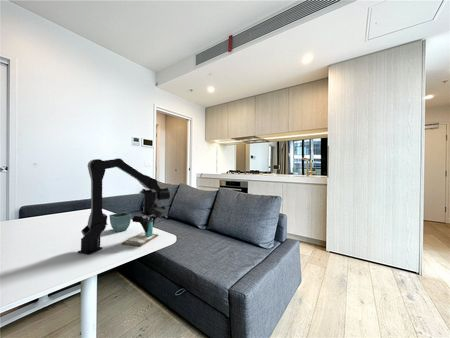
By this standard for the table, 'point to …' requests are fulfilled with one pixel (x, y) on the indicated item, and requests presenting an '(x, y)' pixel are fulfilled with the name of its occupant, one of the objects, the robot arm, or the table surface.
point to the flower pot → (120, 221)
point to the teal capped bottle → (150, 228)
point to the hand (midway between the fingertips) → (148, 231)
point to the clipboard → (139, 240)
